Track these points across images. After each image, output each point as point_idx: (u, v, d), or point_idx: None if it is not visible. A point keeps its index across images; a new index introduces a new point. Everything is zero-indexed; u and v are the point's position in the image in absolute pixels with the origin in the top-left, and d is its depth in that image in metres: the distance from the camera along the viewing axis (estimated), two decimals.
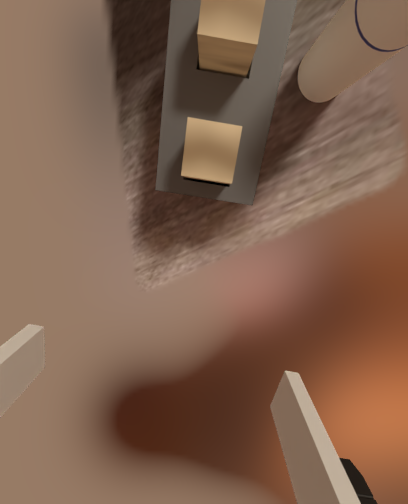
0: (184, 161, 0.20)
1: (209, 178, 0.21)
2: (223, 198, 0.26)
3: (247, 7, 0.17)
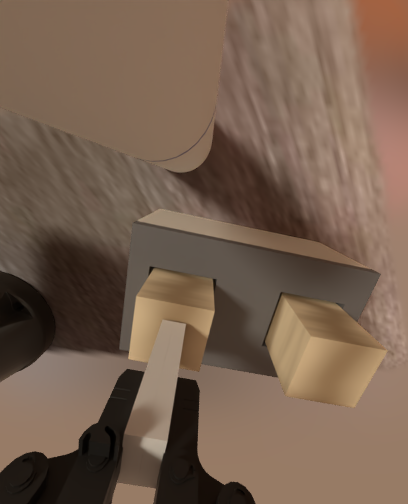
0: (337, 403, 0.15)
1: (370, 377, 0.14)
2: (358, 312, 0.18)
3: None
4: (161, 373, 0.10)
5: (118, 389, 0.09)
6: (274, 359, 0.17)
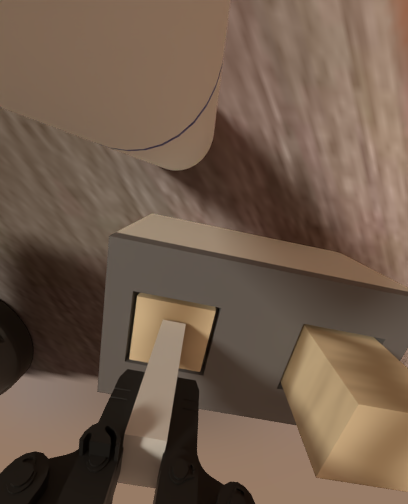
0: (388, 486, 0.11)
1: None
2: (402, 349, 0.14)
3: None
4: (161, 373, 0.10)
5: (118, 389, 0.09)
6: (296, 413, 0.13)
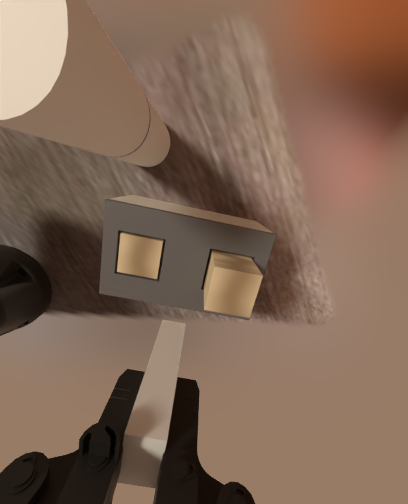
0: (238, 314, 0.23)
1: (255, 295, 0.22)
2: (265, 263, 0.26)
3: (142, 248, 0.26)
4: (161, 373, 0.10)
5: (118, 389, 0.09)
6: (204, 293, 0.25)
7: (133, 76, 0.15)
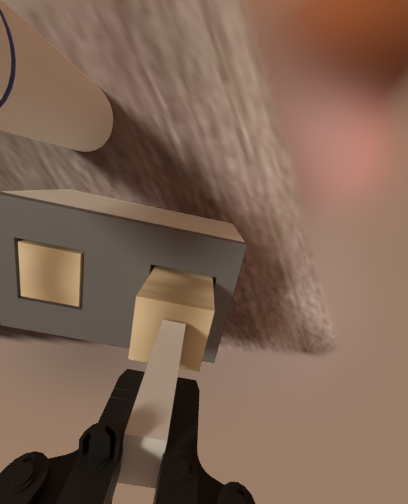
0: (181, 366, 0.15)
1: (205, 339, 0.14)
2: (232, 285, 0.18)
3: (53, 263, 0.18)
4: (161, 373, 0.10)
5: (118, 389, 0.09)
6: None
7: None
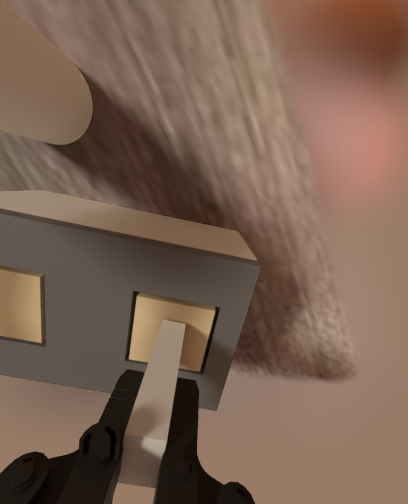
0: (182, 366, 0.15)
1: (205, 339, 0.14)
2: (241, 317, 0.14)
3: (4, 289, 0.13)
4: (161, 373, 0.10)
5: (118, 389, 0.09)
6: None
7: None
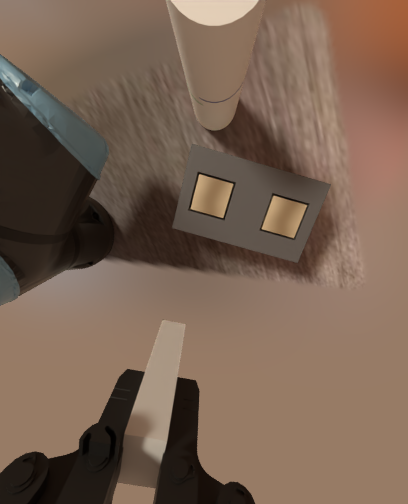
0: (286, 234, 0.32)
1: (300, 220, 0.31)
2: (318, 209, 0.31)
3: (215, 189, 0.31)
4: (161, 373, 0.10)
5: (118, 389, 0.09)
6: None
7: None
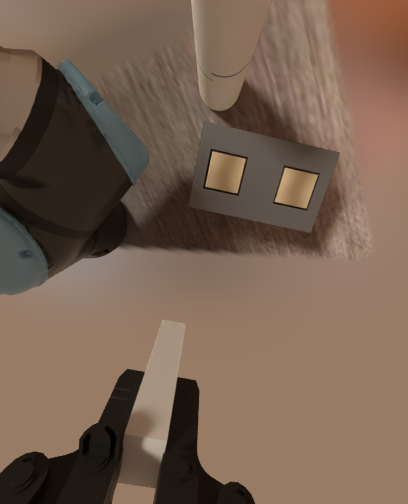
0: (298, 205, 0.33)
1: (311, 190, 0.32)
2: (328, 178, 0.32)
3: (228, 165, 0.31)
4: (161, 373, 0.10)
5: (118, 389, 0.09)
6: None
7: None
